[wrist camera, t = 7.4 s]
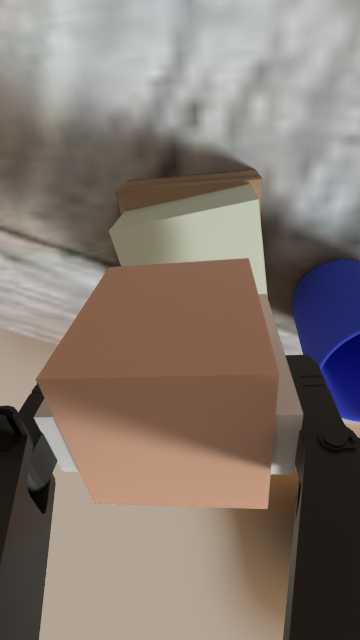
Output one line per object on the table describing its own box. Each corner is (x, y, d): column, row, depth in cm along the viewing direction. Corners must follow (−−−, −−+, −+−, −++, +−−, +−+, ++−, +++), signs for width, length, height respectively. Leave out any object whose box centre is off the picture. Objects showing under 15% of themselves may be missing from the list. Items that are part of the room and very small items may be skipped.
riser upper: (124, 211, 21) (108, 231, 17) (250, 183, 19) (258, 199, 16) (157, 314, 25) (149, 345, 21) (261, 297, 23) (270, 329, 20)
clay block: (109, 267, 14) (36, 379, 8) (248, 258, 13) (279, 374, 7) (133, 370, 17) (94, 503, 11) (247, 367, 16) (267, 508, 11)
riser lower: (129, 179, 23) (115, 191, 20) (254, 168, 22) (262, 178, 19) (147, 288, 28) (139, 312, 25) (250, 283, 27) (256, 307, 24)
